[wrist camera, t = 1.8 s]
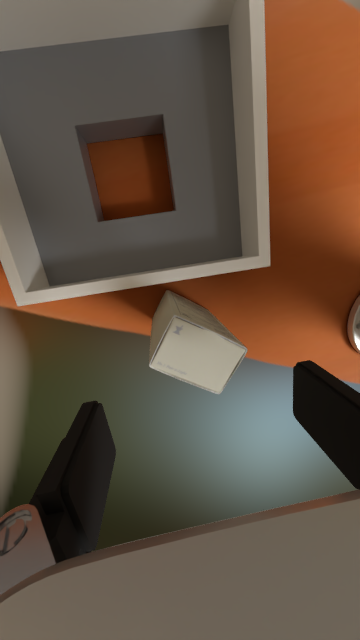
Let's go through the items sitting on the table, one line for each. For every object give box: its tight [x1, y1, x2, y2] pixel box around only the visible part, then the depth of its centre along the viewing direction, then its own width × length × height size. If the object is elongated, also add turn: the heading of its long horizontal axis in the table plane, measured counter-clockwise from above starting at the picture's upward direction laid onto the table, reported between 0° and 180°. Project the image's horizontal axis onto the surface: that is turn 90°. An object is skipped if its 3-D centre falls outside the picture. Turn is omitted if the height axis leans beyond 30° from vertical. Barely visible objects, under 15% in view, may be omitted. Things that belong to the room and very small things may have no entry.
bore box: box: [0, 0, 270, 306], centre depth 19 cm, size 22×20×7 cm
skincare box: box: [149, 290, 247, 394], centre depth 21 cm, size 6×4×12 cm
